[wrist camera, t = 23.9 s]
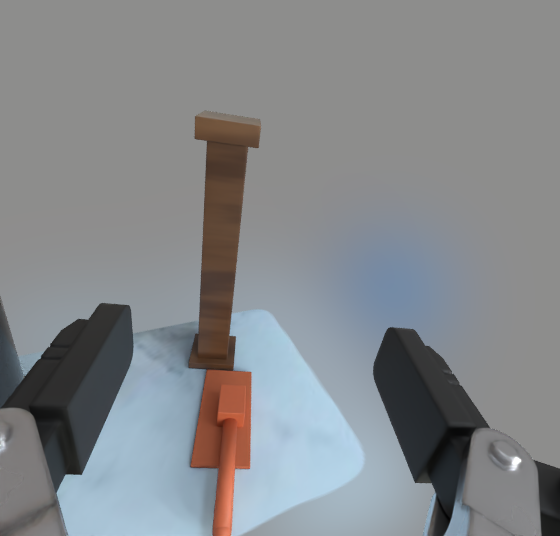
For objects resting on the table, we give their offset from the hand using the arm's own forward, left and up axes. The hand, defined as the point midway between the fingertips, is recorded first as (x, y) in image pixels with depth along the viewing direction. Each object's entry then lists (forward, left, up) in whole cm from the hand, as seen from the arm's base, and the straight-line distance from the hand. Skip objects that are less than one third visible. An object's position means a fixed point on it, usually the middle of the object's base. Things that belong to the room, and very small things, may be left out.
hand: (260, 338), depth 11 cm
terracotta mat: (+13, +14, -28) cm, 34 cm away
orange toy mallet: (+9, +9, -28) cm, 31 cm away
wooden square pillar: (+18, +23, -28) cm, 40 cm away
